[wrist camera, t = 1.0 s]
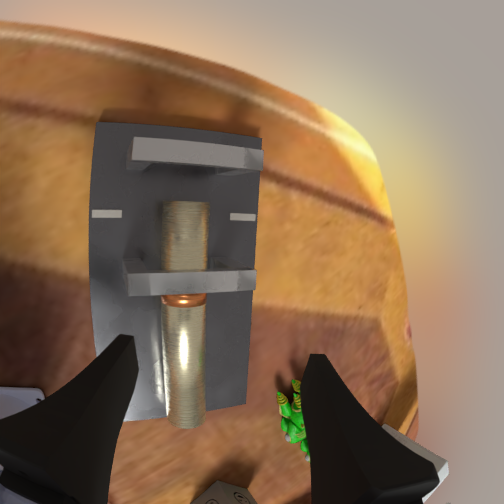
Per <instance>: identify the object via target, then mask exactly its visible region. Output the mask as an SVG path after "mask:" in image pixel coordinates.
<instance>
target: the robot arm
mask: <svg viewBox="0 0 504 504" xmlns="http://www.w3.org/2000/svg"><path fill="white" fill-rule="evenodd" d="M138 373H139V366H138V359H137V353H136V347H135V340H134V336H131V335H125V334H119V335H118V336H117V337H116V338H115V339H114V340H113V341H112V342H111V343H110V344H109V345H108V346H107V347H106V348H105V349H104V350H103V351H102V352H101V353H100V355H98V356H97V357H96V358H95V359H94V360H93V361H92V362H91V363H90V364H89V365H88V366H87V367H86V368H85V369H84V370H83V371H81V372H80V373H79V374H78V375H77V376H76V377H75V378H73V379H72V380H71V381H70V382H68V383H67V384H66V385H65V386H63V387H62V388H60V389H59V390H58V391H56V392H55V393H53V394H52V395H50V396H49V397H47V398H45V397H44V394H43V392H42V390H40V389H38V388H16V387H0V504H107V503H108V492H109V483H110V476H111V470H112V464H113V458H114V453H115V448H116V443H117V439H118V436H119V432H120V429H121V426H122V423H123V421H124V418H125V415H126V412H127V410H128V407H129V404H130V401H131V398H132V396H133V393H134V390H135V386H136V382H137V377H138ZM37 398H39V399H41V400H42V401H38V400H37ZM300 400H301V410H302V416H303V421H304V426H305V432H306V437H307V442H308V448H309V455H310V467H311V493H312V502H311V504H423V501H422V498H423V497H425V496H426V495H427V494H429V493H430V492H431V491H433V490H434V489H435V488H436V487H437V486H438V484H439V483H440V480H439V477H438V473H437V470H436V468H435V466H434V464H433V462H431V461H429V460H427V459H425V458H424V457H422V456H420V455H418V454H417V453H415V452H413V451H412V450H410V449H409V448H408V447H406V446H405V445H403V444H402V443H400V442H399V441H398V440H397V439H395V438H394V437H393V436H392V435H390V434H389V433H388V432H387V431H386V430H385V429H383V428H382V427H381V426H380V425H379V424H378V423H377V422H376V421H375V420H374V419H373V418H372V417H371V416H370V415H369V414H368V413H367V411H366V410H365V409H364V408H363V407H362V406H361V404H360V403H359V402H358V401H357V400H356V398H355V397H354V396H353V394H352V393H351V392H350V390H349V389H348V388H347V386H346V385H345V384H344V382H343V381H342V379H341V378H340V376H339V375H338V373H337V372H336V370H335V369H334V367H333V366H332V364H331V363H330V361H329V360H328V358H327V356H326V355H325V354H310V357H309V360H308V363H307V366H306V369H305V372H304V375H303V378H302V381H301V384H300ZM447 504H450V503H447Z"/></svg>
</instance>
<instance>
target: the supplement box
mask: <svg viewBox="0 0 504 504" xmlns="http://www.w3.org/2000/svg"><path fill="white" fill-rule="evenodd" d="M382 428H383V429H385V430H386V431H387V432H388V433H389V434H390V435H392V436H393V437H394V438H395V439H397V440H398V441H399V442H400V443H402V444H403V445H405V446H406V447H408V448H409V449H410V450H412V451H413V452H415V453H417V454H418V455H420V456H422V457H424V458H425V459H427V460H429V461H431V462H433V464H434V466H435V468H436V470H437V473H438V477H439V480H440V483H439V484H438V486H439V485H440V484H441V483H442V481H443V480H444V479H445V478H446V477H447V475H448V474H449V469H448V461H447V460H445V459H443V458H441V457H440V456H438V455H436V454H434V453H433V452H431V451H429V450H427V449H426V448H424V447H423V446H421V445H419V444H418V443H416V442H415V441H413V440H411V439H410V438H408V437H407V436H405V435H403V434H402V433H400V432H398V431H397V430H395V429H393V428H392V427H390V426H389V425H387V424H385V423H384V424H383V425H382ZM438 486H437V487H438ZM437 487H436V488H437ZM436 488H435V489H434V490H433V491H431V492H430V493H429V494H427V495H426V496H425V497H423V498H422V501H423V503H424V502H425V501H426V500H427V498H428V497H429V496H430V495H431V494H432V493H433V492H434V491H435V490H436Z"/></svg>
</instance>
